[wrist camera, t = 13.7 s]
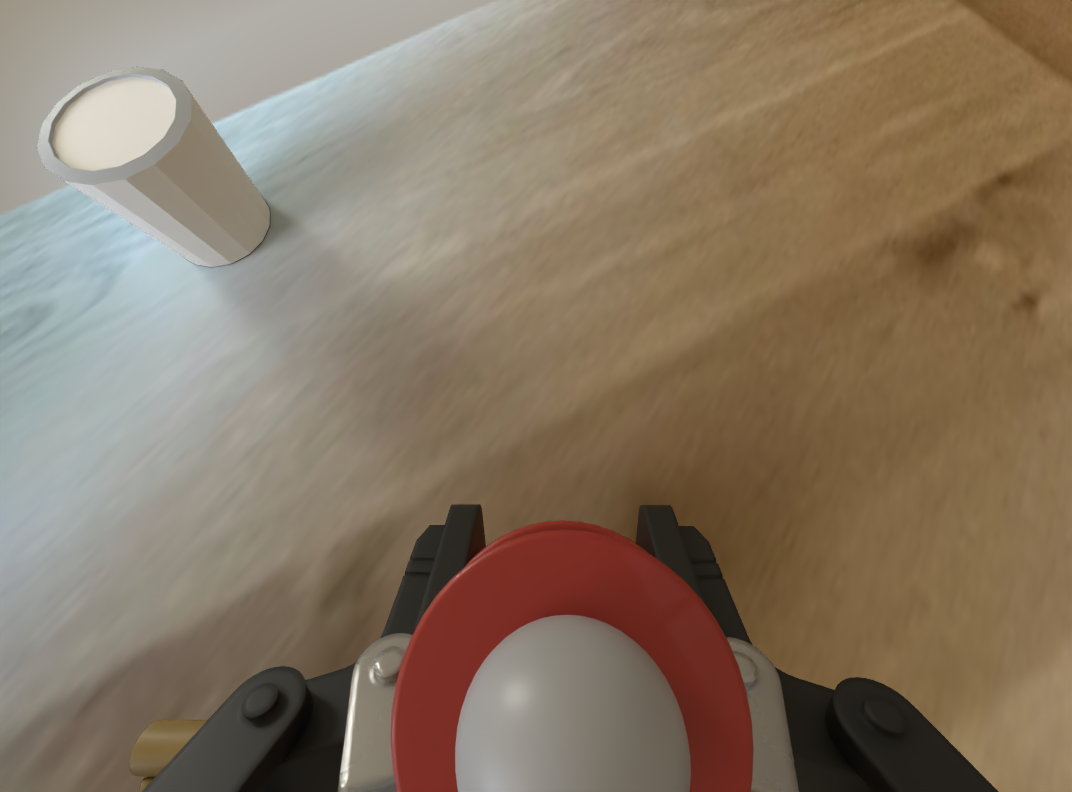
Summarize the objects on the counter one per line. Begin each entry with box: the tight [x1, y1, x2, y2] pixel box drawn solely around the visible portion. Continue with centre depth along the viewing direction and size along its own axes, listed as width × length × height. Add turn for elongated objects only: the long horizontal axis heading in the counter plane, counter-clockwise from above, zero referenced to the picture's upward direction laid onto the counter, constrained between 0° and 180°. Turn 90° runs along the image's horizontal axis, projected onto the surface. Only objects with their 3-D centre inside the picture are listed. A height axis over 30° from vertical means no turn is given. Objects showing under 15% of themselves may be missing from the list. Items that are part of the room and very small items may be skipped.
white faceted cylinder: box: [37, 67, 270, 267], centre depth 23 cm, size 7×7×7 cm
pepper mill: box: [391, 521, 754, 792], centre depth 11 cm, size 4×4×16 cm
